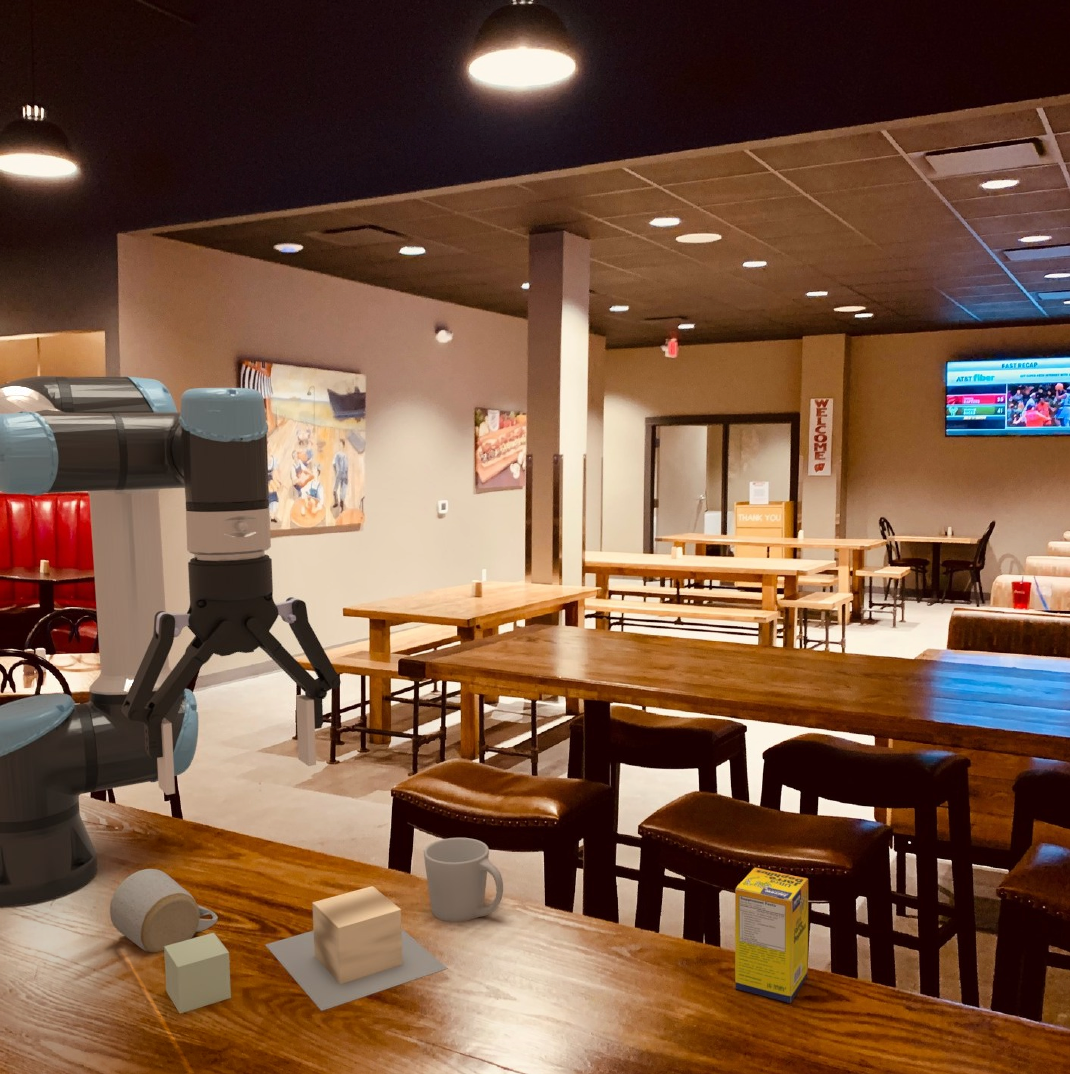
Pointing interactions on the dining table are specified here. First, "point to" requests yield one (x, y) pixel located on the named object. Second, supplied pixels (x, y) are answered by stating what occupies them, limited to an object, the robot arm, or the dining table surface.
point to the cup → (460, 879)
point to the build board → (331, 993)
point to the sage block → (197, 972)
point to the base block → (357, 934)
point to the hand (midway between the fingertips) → (239, 776)
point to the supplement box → (771, 934)
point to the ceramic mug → (156, 911)
